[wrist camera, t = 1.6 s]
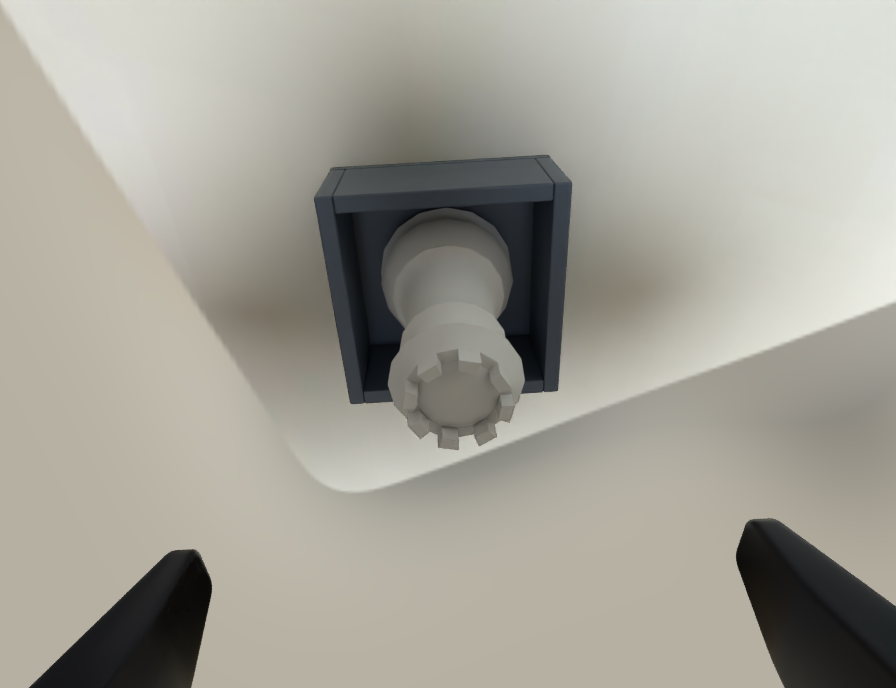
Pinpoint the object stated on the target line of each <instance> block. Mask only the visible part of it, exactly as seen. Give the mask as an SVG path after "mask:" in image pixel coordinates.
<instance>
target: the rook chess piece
mask: <svg viewBox="0 0 896 688" xmlns="http://www.w3.org/2000/svg"><path fill="white" fill-rule="evenodd" d="M381 276H382V282H381V285H382V289H383V292H384V296H385V299H386V302H387V306H388V308H389V310H390V311H391V313H392V314H393V315H394V316H395V317H396V319H397V320H398V321H399V322H400V323H401V325H402V326H403V327H404V328H405V330H404V332H403V334H402V339H401V345H400V351H399V352H398V354H397V355H396V356H395V358H394V359H393V361H392V362H391V368H390V374H389V380H388V387H389V390H390V393H391V396H392V399H393V402H394V405H395V406H396V408H397V409H398V410H399V411H400V412H401V413H402V414H403V415H404V416H405V417H406V418H407V419H408V427H409V428H410V429H411V430H412V431H413V432H414V433H415V434H416V435H417V436H418V437H419V438H420V439H421V438H422V437H424V436H425V435H426V434H427V433H428V432H429V431H430V432H432V433H434V434H437V435H438V448H445V449H454V450H459V438H458V437H461V436H467V435H472V434H474V436H475V439H476V441H477V443H478V445H479V446H481V445H483V444H484V443H486V442H488V441H490V440H492V439H494V438H496V437H497V434H496V429H495V424H496V423H497V422H499V421H501V420H502V421H505V422H509V423H510V420H511V417H512V414H513V410H514V407H515V405H516V404H517V402H518V401H519V397H520V394H521V391H522V388H523V385H524V382H525V378H524V372H523V366H522V360H521V358H520V356H519V355H518V353H517V352H516V351H515V349H514V348H513V347H512V345H511V344H510V343H509V341H508V340H507V339H506V338H505V333H504V330H503V328H502V327H501V325H500V324H499V323H498V321H497V318H498V317H499V316H500V315H501V313H502V312H503V311H504V310H505V308H506V305H507V302H508V298H509V295H510V291H511V287H512V284H513V277H512V270H511V263H510V257H509V251H508V246H507V245H506V243H505V242H504V240H503V239H502V237H501V236H500V234H499V233H498V231H497V230H496V228H495V227H494V226H493V225H492V224H490V223H488V222H487V221H485V220H484V219H482V218H481V217H479V216H478V215H476V214H474V213H473V212H468V211H463V210H457V209H452V208H441V209H436V210H432V211H427V212H423V213H419V214H417V215H416V216H415V217H413V218H412V219H410V220H409V221H407V222H406V223H404V224H403V225H401V226H400V227H399V228H397V230H396V231H395V233H394V235H393V236H392V238H391V239H390V241H389V243H388V244H387V246H386V247H385V249H384V254H383V261H382V268H381Z"/></svg>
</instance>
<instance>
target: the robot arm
mask: <svg viewBox="0 0 896 688" xmlns="http://www.w3.org/2000/svg"><path fill="white" fill-rule="evenodd" d="M736 561H737V565H738V569H739V571H740V574H741V577H742V580H743V582H744V585H745V588H746V591H747V594H748V596H749V599H750V602H751V604H752V607H753V610H754V612H755V616H756V618H757V621H758V624H759V627H760V630H761V632H762V635H763V637H764V641H765V643H766V646H767V649H768V651H769V654H770V656H771V659H772V661H773V664H774V666H775V668H776V670H777V673H778V675H779V677H780V679H781V681H782V683H783V685H784V687H785V688H896V606H895V605H893V604H892V603H890V602H889V601H888V600H886V599H885V598H884V597H882V596H881V595H880V594H878V593H877V592H875V591H874V590H873V589H871V588H870V587H869V586H867V585H866V584H865V583H863V582H862V581H860V580H859V579H858V578H856V577H855V576H854V575H852V574H851V573H849V572H848V571H847V570H845V569H844V568H843V567H841V566H840V565H839V564H837V563H836V562H834V561H833V560H832V559H830V558H829V557H828V556H826V555H825V554H824V553H822V552H821V551H819V550H818V549H817V548H815V547H814V546H813V545H811V544H810V543H809V542H807V541H806V540H804V539H803V538H802V537H800V536H799V535H797V534H796V533H795V532H793V531H792V530H791V529H789V528H788V527H787V526H785V525H784V524H782V523H781V522H780V521H778V520H776V519H770V518H769V519H753V520H750V521H748V522H747V523H746V525H745V528H744V531H743V534H742V537H741V540H740V543H739V545H738V548H737V552H736ZM211 593H212V583H211V579H210V576H209V574H208V572H207V569H206V567H205V565H204V562H203V560H202V558H201V555H200V554H199V552H198V551H196V550H193V549H192V550H175V551H171V552H170V553H168V554H167V555H165V556H164V557H163V558H162V559H161V560H160V561H159V562H158V563H157V564H156V565H155V566H154V567H153V568H152V569H151V570H150V571H149V572H148V573H147V574H146V575H145V576H144V577H143V578H142V579H141V580H140V581H139V582H138V583H136V585H134V586H133V587H132V588H131V589H130V590H129V591H128V592H127V593H126V594H125V595H124V596H123V597H122V598H121V599H120V600H119V601H118V602H117V603H116V604H115V605H114V606H113V607H112V608H111V609H110V610H109V611H108V612H107V613H106V614H105V615H103V616H102V617H101V618H100V619H99V621H97V622H96V623H95V624H94V625H93V626H92V627H91V628H90V629H89V630H88V631H87V632H86V633H85V634H84V635H83V636H82V637H81V638H80V639H79V640H78V641H77V642H76V643H75V644H74V645H73V646H72V647H70V648H69V649H68V650H67V651H66V652H65V653H64V654H63V655H62V656H61V657H60V658H59V659H58V660H57V661H56V662H55V663H54V664H53V665H52V666H51V667H50V668H49V669H48V670H47V671H46V672H45V673H44V674H43V675H42V676H41V677H40V678H38V679H37V680H36V681H35V682H34V683H33V684H32V685H31V686H30V687H29V688H191V686H192V681H193V677H194V673H195V668H196V664H197V659H198V654H199V649H200V645H201V641H202V635H203V631H204V627H205V622H206V617H207V613H208V608H209V603H210V599H211Z"/></svg>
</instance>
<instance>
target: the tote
mask: <svg viewBox="0 0 896 688" xmlns="http://www.w3.org/2000/svg"><path fill="white" fill-rule="evenodd" d="M571 194H572V182H571V181H570V180H569V178H568V177H567V176H566V175H565V174H564V173H563V172H562V171H561V169H560V168H559V167H558V166H557V165H556V164H555V163H554V161H553V160H552V159H551V158H550V156H549V155H542V156H525V157H508V158H491V159H475V160H458V161H441V162H424V163H407V164H390V165H373V166H356V167H339V168H331V169H330V172H329V173H328V175H327V177H326V179H325V180H324V182H323V184H322V185H321V187H320V189H319V191H318V192H317V194H316V196H315V197H314V201H315V207H316V213H317V218H318V224H319V230H320V235H321V241H322V247H323V252H324V258H325V264H326V269H327V275H328V281H329V286H330V292H331V298H332V303H333V309H334V315H335V320H336V326H337V332H338V337H339V343H340V349H341V354H342V360H343V366H344V371H345V377H346V383H347V388H348V394H349V400H350V403H351V404H361V403H379V402H393V399H392V396H391V393H390V390H389V387H388V380H389V374H390V368H391V362H392V361H393V359H394V358H395V356H396V355H397V354H398V352H399V351H400V345H401V339H402V334H403V332H404V330H405V328H404V327H403V326H402V325H401V323H400V322H399V321H398V320H397V319H396V317H395V316H394V315H393V314H392V313H391V311H390V310H389V308H388V306H387V302H386V299H385V296H384V292H383V289H382V285H381V282H382V276H381V268H382V261H383V254H384V249H385V247H386V246H387V244H388V243H389V241H390V239H391V238H392V236H393V235H394V233H395V231H396V230H397V228H399V227H400V226H401V225H403V224H404V223H406V222H407V221H409V220H410V219H412V218H413V217H415V216H416V215H417V214H419V213H423V212H427V211H432V210H436V209H441V208H452V209H457V210H463V211H468V212H473V213H474V214H476V215H478V216H479V217H481V218H482V219H484V220H485V221H487V222H488V223H490V224H492V225H493V226H494V227H495V228H496V230H497V231H498V233H499V234H500V236H501V237H502V239H503V240H504V242H505V243H506V245H507V246H508V251H509V257H510V263H511V270H512V277H513V284H512V287H511V291H510V295H509V298H508V302H507V305H506V308H505V310H504V311H503V312H502V313H501V315H500V316H499V317H498V318H497V321H498V323H499V324H500V325H501V327H502V328H503V330H504V333H505V338H506V339H507V340H508V341H509V343H510V344H511V345H512V347H513V348H514V349H515V351H516V352H517V353H518V355H519V356H520V358H521V360H522V366H523V372H524V378H525V382H524V385H523V388H522V391H521V394H522V393H538V392H543V391H544V392H552V391H558V384H559V369H560V354H561V340H562V325H563V311H564V296H565V282H566V267H567V253H568V238H569V223H570V209H571Z"/></svg>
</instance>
